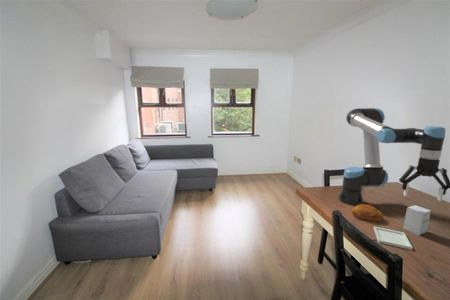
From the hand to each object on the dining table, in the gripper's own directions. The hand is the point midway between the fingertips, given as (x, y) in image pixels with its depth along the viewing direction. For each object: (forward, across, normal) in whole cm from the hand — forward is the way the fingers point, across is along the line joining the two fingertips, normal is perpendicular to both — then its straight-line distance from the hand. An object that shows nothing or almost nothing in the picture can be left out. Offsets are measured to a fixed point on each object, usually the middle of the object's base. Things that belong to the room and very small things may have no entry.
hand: (421, 198), depth 111 cm
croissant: (+19, -21, +7) cm, 30 cm away
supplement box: (+19, 0, 0) cm, 19 cm away
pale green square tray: (+19, -13, -14) cm, 27 cm away
